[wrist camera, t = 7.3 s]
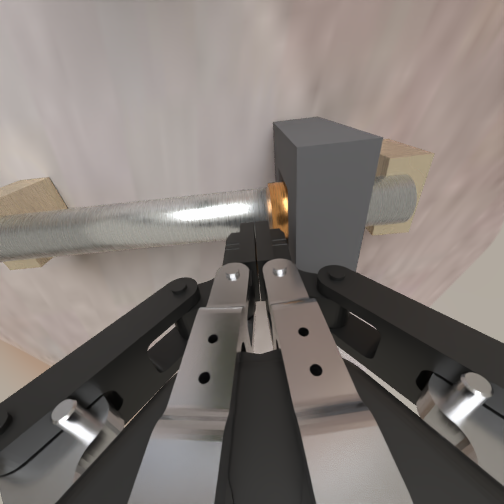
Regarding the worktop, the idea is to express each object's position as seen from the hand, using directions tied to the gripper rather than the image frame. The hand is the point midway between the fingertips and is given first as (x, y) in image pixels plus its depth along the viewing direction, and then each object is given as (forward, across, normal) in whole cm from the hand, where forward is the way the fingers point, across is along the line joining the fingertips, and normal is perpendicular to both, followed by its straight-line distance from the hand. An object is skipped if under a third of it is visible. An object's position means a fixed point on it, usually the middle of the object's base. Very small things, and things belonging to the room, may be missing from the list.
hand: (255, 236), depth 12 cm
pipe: (+8, +4, +3) cm, 9 cm away
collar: (+8, -3, 0) cm, 8 cm away
